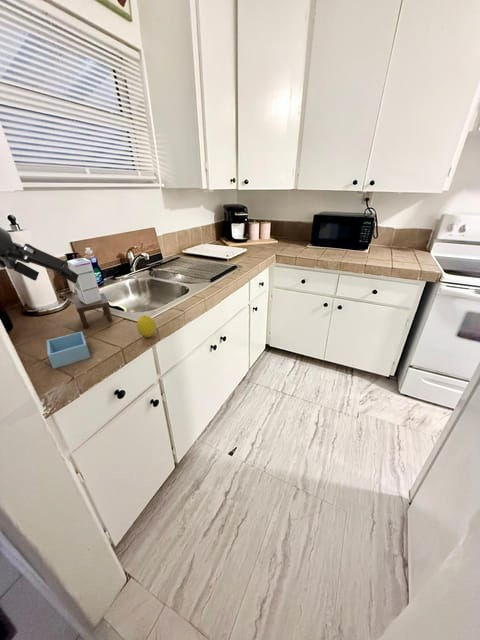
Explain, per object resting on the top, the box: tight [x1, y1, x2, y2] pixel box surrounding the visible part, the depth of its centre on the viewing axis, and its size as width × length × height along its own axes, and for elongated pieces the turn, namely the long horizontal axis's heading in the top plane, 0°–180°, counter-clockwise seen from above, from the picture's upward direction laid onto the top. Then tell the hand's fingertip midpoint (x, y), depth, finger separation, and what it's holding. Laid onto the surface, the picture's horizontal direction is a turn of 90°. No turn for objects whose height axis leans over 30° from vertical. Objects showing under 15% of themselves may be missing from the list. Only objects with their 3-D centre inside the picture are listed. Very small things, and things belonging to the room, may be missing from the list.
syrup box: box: [66, 257, 102, 304], centre depth 89 cm, size 6×6×14 cm
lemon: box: [136, 314, 156, 338], centre depth 84 cm, size 6×6×8 cm
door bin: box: [46, 331, 91, 370], centre depth 76 cm, size 9×9×4 cm
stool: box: [73, 292, 114, 330], centre depth 94 cm, size 10×10×8 cm
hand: (56, 277), depth 78 cm, fingers open, 13 cm apart
